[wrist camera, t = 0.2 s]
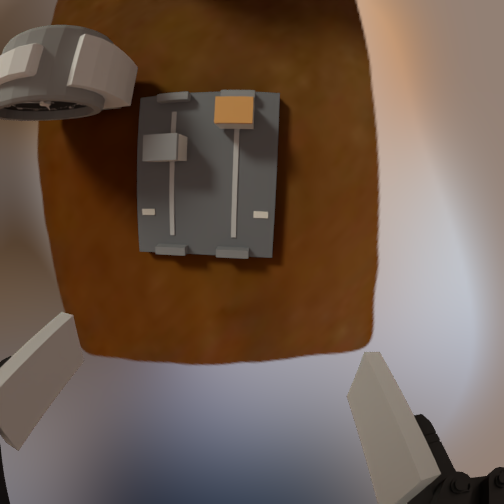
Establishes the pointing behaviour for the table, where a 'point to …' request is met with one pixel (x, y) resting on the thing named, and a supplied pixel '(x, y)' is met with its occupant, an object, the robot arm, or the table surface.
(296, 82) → the table surface
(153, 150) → the fader
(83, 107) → the alarm clock
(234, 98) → the fader
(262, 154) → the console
